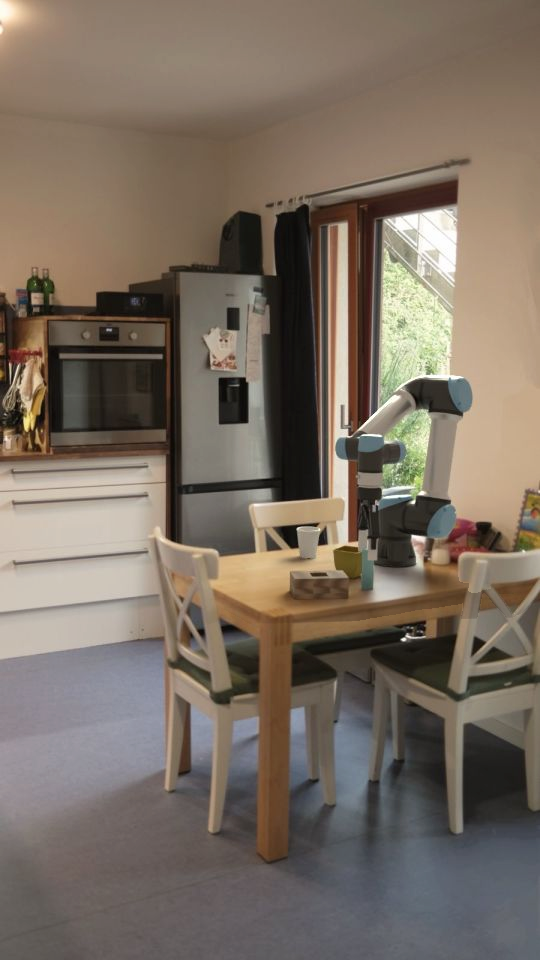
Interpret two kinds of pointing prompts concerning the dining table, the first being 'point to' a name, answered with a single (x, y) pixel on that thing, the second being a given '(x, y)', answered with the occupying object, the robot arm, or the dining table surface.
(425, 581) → the dining table surface
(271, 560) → the dining table surface
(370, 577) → the pin
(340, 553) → the flower pot
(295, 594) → the block
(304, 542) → the dixie cup
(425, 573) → the dining table surface
